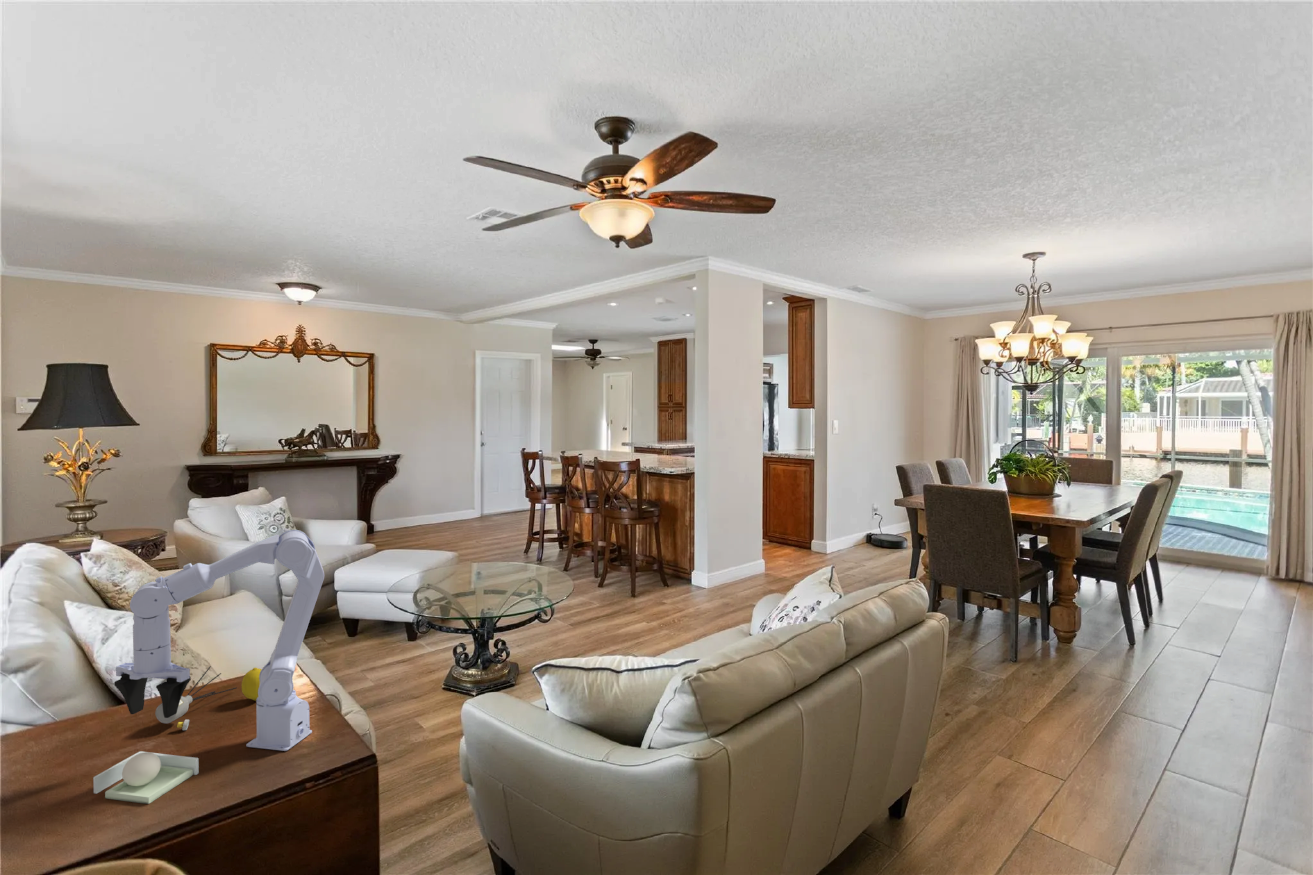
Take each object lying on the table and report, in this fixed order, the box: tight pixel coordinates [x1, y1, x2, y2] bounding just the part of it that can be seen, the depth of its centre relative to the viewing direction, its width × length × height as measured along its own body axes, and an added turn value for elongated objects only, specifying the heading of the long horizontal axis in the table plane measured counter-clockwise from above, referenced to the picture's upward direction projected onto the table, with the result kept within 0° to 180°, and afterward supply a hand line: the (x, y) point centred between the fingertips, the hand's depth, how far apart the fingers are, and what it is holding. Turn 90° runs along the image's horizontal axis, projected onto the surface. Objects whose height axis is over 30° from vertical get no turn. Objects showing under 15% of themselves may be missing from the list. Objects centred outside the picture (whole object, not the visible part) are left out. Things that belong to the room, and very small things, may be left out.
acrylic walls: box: [92, 750, 200, 794], centre depth 120 cm, size 13×9×3 cm
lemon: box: [241, 667, 262, 702], centre depth 153 cm, size 6×6×8 cm
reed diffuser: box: [155, 666, 238, 731], centre depth 148 cm, size 10×7×20 cm
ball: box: [122, 751, 161, 786], centre depth 119 cm, size 6×6×6 cm
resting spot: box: [104, 766, 194, 805], centre depth 119 cm, size 9×9×1 cm
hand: (153, 713), depth 125 cm, fingers open, 7 cm apart
